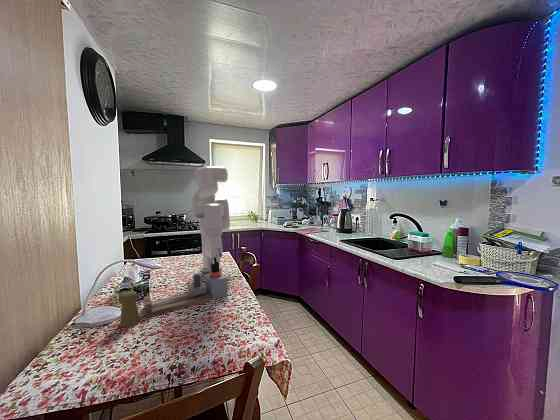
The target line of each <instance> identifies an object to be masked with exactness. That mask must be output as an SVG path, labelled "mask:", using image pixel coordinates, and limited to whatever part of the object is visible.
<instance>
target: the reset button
mask: <svg viewBox="0 0 560 420" xmlns="http://www.w3.org/2000/svg"><path fill="white" fill-rule="evenodd" d="M209 273H210V275H211V278H217V277H220V274H221V273H222V269H220V270H219V272H215V273H212V272H211V271H210V272H209Z"/></svg>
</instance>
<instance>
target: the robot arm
mask: <svg viewBox="0 0 560 420" xmlns="http://www.w3.org/2000/svg"><path fill="white" fill-rule="evenodd" d="M228 177H229V174H228V170H227V168H226V167H224V166H213V165H211V166H209V165H207V166H203V167H198V168H196V169H195V170H194V180H195V183H196V185H197V186H198V189H197V190H196V191H195V193H194V194H193V196H192V199H191V213H192V216H193V218H194V219H196V220H199V221H198V222H199V223H198V224H199V231H200V237H201V251H202V252H201V253H202V266H201V267H200V269H199V270H200V272H203V273H205V272H206V273H210V271H211V272H212V273H215V272H219V270H222V268H223V265H222V264H221V263H220V262H221V258H222V257H223V256H224V255H223V251H224V250H223V241H222V235H223V232H227V231H229V230H230V229H231V228H230V227H231V219H230V218H231V217H230V208H229V205H230V204H229V202H228V199H226V198H225V197H216V194H217V193H218V191H219V186H218V184H219V183H225V182H227V181H228V179H229V178H228Z"/></svg>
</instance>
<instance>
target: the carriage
mask: <svg viewBox="0 0 560 420" xmlns="http://www.w3.org/2000/svg"><path fill="white" fill-rule="evenodd" d="M187 291H188V292H189V293H190V294H191V295H192V297H194V296H197V295H201V294H204V293H206V292H207V290H206V286H205V283H203V281H201V274H200V273H194V274H192V284H191V283H190V284H188V285H187Z"/></svg>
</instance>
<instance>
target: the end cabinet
mask: <svg viewBox="0 0 560 420" xmlns="http://www.w3.org/2000/svg"><path fill="white" fill-rule="evenodd" d="M204 285H205V286H206V290H207V292H208V293H209V295H210V296H211V300H214V299H215V300H216V299H218V298H222V297H224V296H228V295H229V294H228V293H229V291H228V289H229V287H228V277H227V276H226V275H225V274H223V272H221V274H220V277H217V278H211V275H210V272H208V273H206V274H205V273H204Z"/></svg>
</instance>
